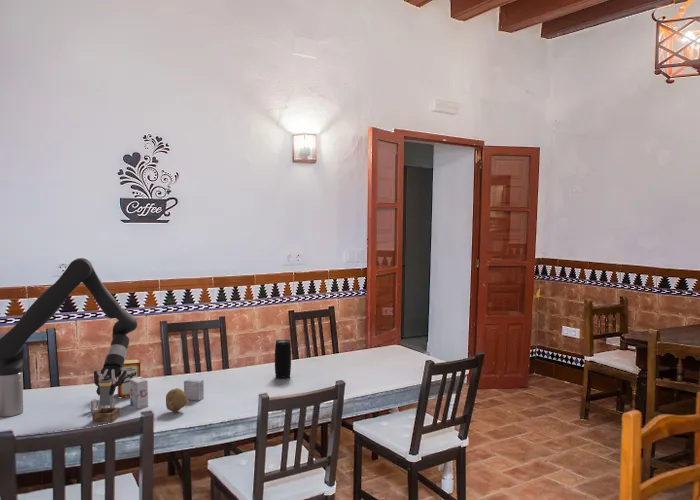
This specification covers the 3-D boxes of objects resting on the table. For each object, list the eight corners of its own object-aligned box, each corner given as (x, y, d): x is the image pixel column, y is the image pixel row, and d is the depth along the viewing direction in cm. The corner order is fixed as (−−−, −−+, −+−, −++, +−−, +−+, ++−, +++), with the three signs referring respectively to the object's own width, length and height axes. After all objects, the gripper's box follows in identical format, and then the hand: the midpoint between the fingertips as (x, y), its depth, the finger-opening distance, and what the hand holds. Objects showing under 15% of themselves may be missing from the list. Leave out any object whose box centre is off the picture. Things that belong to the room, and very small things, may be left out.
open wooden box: (92, 422, 221) (92, 414, 221) (100, 416, 229) (100, 407, 229) (112, 422, 221) (112, 413, 221) (120, 416, 229) (120, 407, 229)
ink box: (129, 404, 245) (129, 378, 244) (140, 401, 248) (140, 376, 248) (137, 408, 239) (137, 382, 238) (148, 406, 242) (148, 379, 242)
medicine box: (204, 398, 255) (204, 379, 254) (198, 401, 250) (198, 382, 250) (189, 396, 257) (188, 378, 256) (183, 399, 252) (183, 380, 252)
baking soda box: (138, 391, 264) (138, 358, 264) (140, 395, 258) (140, 361, 258) (117, 394, 260) (117, 360, 259) (118, 397, 254) (118, 363, 253)
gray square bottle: (99, 405, 223) (98, 377, 222) (103, 402, 227) (103, 374, 227) (110, 405, 223) (109, 377, 223) (114, 402, 227) (113, 374, 227)
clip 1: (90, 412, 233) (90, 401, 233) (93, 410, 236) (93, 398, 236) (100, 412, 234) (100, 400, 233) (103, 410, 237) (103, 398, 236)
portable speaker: (290, 374, 297) (290, 338, 297) (291, 379, 288) (291, 342, 287) (274, 375, 296) (274, 339, 295) (275, 379, 287) (275, 342, 286)
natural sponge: (190, 408, 240) (190, 385, 240) (184, 415, 231) (184, 391, 231) (169, 408, 240) (168, 385, 239) (162, 415, 231) (162, 391, 230)
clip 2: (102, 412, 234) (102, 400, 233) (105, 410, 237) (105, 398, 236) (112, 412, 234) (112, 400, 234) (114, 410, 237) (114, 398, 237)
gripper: (96, 353, 232) (83, 390, 220) (130, 352, 232) (119, 389, 220) (101, 362, 237) (89, 399, 225) (134, 362, 238) (124, 398, 226)
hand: (104, 394), depth 223 cm, fingers closed on gray square bottle, 4 cm apart
